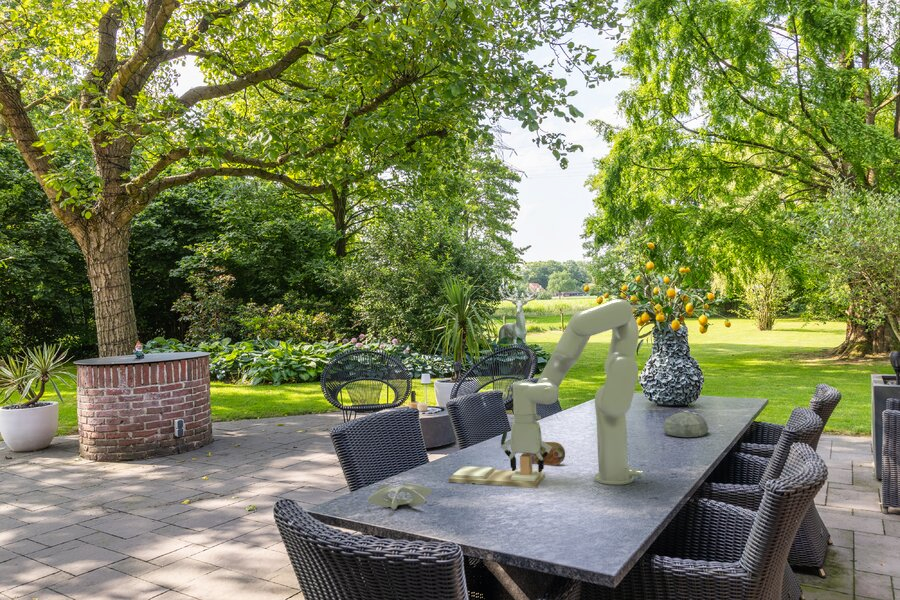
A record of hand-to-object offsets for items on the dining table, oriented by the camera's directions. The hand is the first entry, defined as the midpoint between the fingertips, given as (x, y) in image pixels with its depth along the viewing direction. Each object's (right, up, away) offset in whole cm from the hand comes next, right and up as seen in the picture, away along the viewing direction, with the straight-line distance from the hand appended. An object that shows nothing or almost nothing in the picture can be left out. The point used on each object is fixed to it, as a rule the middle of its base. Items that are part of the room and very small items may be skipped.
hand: (527, 470), depth 209 cm
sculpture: (-41, -5, -22) cm, 47 cm away
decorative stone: (+79, -3, +67) cm, 104 cm away
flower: (+2, -5, +54) cm, 54 cm away
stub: (0, -2, 0) cm, 2 cm away
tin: (+10, -4, +23) cm, 25 cm away
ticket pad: (-10, -4, +3) cm, 11 cm away
